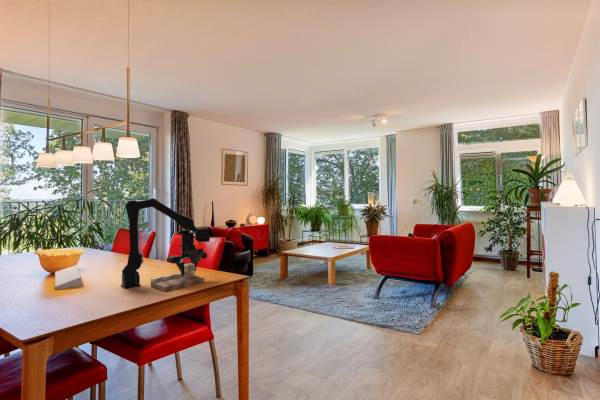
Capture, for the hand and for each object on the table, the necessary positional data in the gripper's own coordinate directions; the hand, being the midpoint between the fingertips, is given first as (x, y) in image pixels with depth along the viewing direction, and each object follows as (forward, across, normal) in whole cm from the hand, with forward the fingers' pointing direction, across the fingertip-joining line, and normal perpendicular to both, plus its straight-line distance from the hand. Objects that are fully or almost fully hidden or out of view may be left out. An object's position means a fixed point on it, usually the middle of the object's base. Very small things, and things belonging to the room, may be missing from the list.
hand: (187, 274), depth 164 cm
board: (+3, -6, -2) cm, 7 cm away
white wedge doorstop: (+4, -38, +47) cm, 61 cm away
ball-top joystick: (+1, 0, -3) cm, 3 cm away
